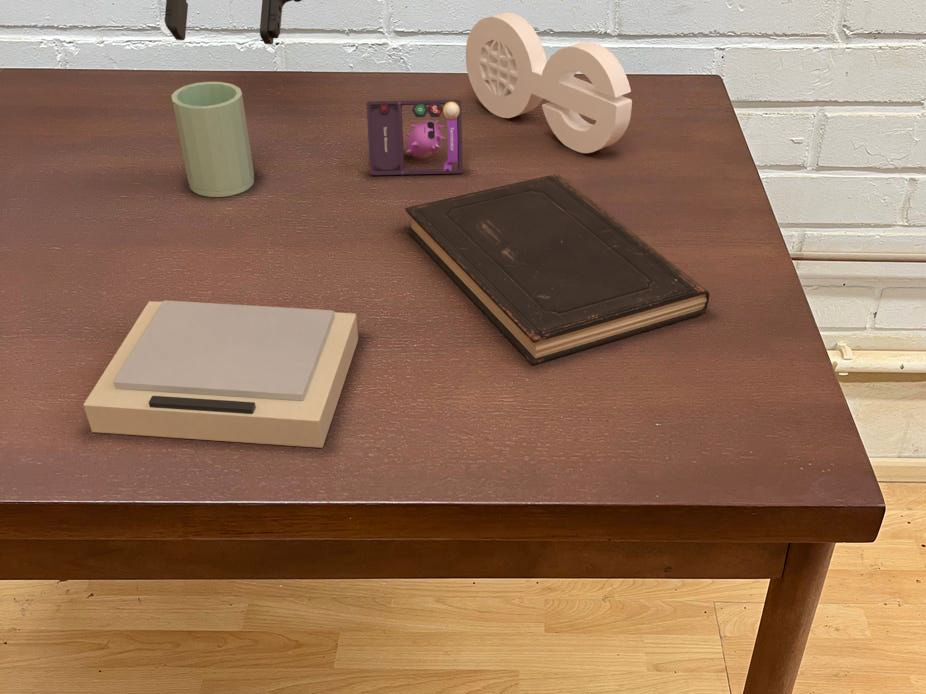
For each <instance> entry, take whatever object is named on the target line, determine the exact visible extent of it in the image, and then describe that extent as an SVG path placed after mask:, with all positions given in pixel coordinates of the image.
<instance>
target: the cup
mask: <svg viewBox="0 0 926 694" xmlns="http://www.w3.org/2000/svg"><path fill="white" fill-rule="evenodd" d="M170 98H171V103H172V108H173V113H174V117H175V122H176V128H177V133H178V138H179V142H180V148H181V152H182V153H181V154H182V158H183V164H184V167H185V168H184V169H185V174H186V179H187V184H188V187H189V189H190V191H192V192H193V193H194V194H196V195H199V196H202V197H207V198H224V197H232V196H235V195H239V194H241V193H244V192H246V191H248V190H249V189H251V188H252V187H253V185H254V183H255V172H254V171H255V170H254V165H253V164H254V163H253V159H252V151H251V144H250V139H249V129H248V125H247V124H248V123H247V117H246V111H245V106H244V105H245V104H244V97H243V92H242V90H241V88H240V87H239V86H237V85H235V84H233V83H228V82H223V81H201V82H194V83H191V84H188V85H187V84H186V85H183V86H181V87H179V88H178V89H176V90H174V92H173V93H172V94H171V97H170Z"/></svg>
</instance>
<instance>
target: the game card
mask: <svg viewBox="0 0 926 694" xmlns="http://www.w3.org/2000/svg"><path fill="white" fill-rule="evenodd" d="M442 105H444V106H443V107H442ZM403 106H413V107H412V108H411V112H412V113H413V115H414V116H415V117H416V118H425V117H426V116H427V114H429V116H430V117H431V118H440V116H441V115H442V112H443V115H444V116H445V117H446V125H445V124H440V123H438V122H439V120H435V121H434V119H431V120H428V119H426V120H421V121H420V122H418V123H415V124H414V123H413V124H412V123H411V124H410V127H412V128H413V129H412V131H411V132H406V133H404V131H403V129H404V128H403V127H404V126H403ZM366 116H367V117H366V121H367V136H368V137H367V138H368V139H367V140H368V151H369V152H368V155H369V156H368V157H369V174H370V175H371V176H396V175H435V174H436V175H439V174H440V175H442V174H443V175H445V174H462V173H463V122H462V121H463V120H462V119H463V118H462V101H461V100H460V99H424V100H423V99H422V100H421V99H419V100H369V101H367V102H366ZM446 127H447V138H446V137H445V136H443V134H442V132H441V129H442V128H446ZM404 136H406V137H407V139H406V151H405V152H404ZM443 141H447V160H446V161H444V166H443V168H434V169H432V168H431V169H430V168H429V169H425V168H424V169H405V155H406V156H413V157H416V158H418V159H419V158H422V159H423V158H428V157H431V156H433V155H434V154H436V153H437V152H438V151H439V150H440V148H441V146H442V143H443ZM404 153H405V154H404ZM453 164H457V168H452V167H453V166H452V165H453Z"/></svg>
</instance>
